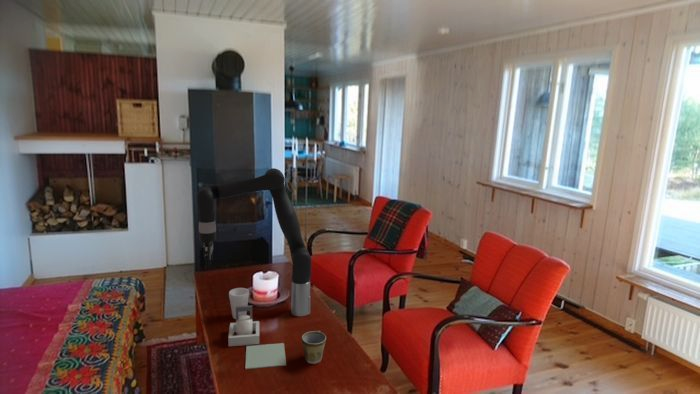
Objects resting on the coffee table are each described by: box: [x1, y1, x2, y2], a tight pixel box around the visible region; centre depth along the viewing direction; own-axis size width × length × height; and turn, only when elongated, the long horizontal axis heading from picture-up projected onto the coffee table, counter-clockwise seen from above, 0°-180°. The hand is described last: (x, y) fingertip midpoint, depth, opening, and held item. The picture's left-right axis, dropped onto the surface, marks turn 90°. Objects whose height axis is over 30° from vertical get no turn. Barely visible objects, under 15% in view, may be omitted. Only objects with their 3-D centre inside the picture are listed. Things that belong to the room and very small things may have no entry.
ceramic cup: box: [301, 329, 327, 365], centre depth 174 cm, size 13×10×10 cm
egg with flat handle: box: [235, 304, 254, 336], centre depth 186 cm, size 7×7×15 cm
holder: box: [227, 320, 260, 347], centre depth 187 cm, size 13×13×4 cm
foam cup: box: [228, 287, 250, 320], centre depth 205 cm, size 10×9×13 cm
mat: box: [244, 342, 287, 370], centre depth 174 cm, size 16×16×1 cm
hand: (209, 263), depth 196 cm, fingers open, 8 cm apart
